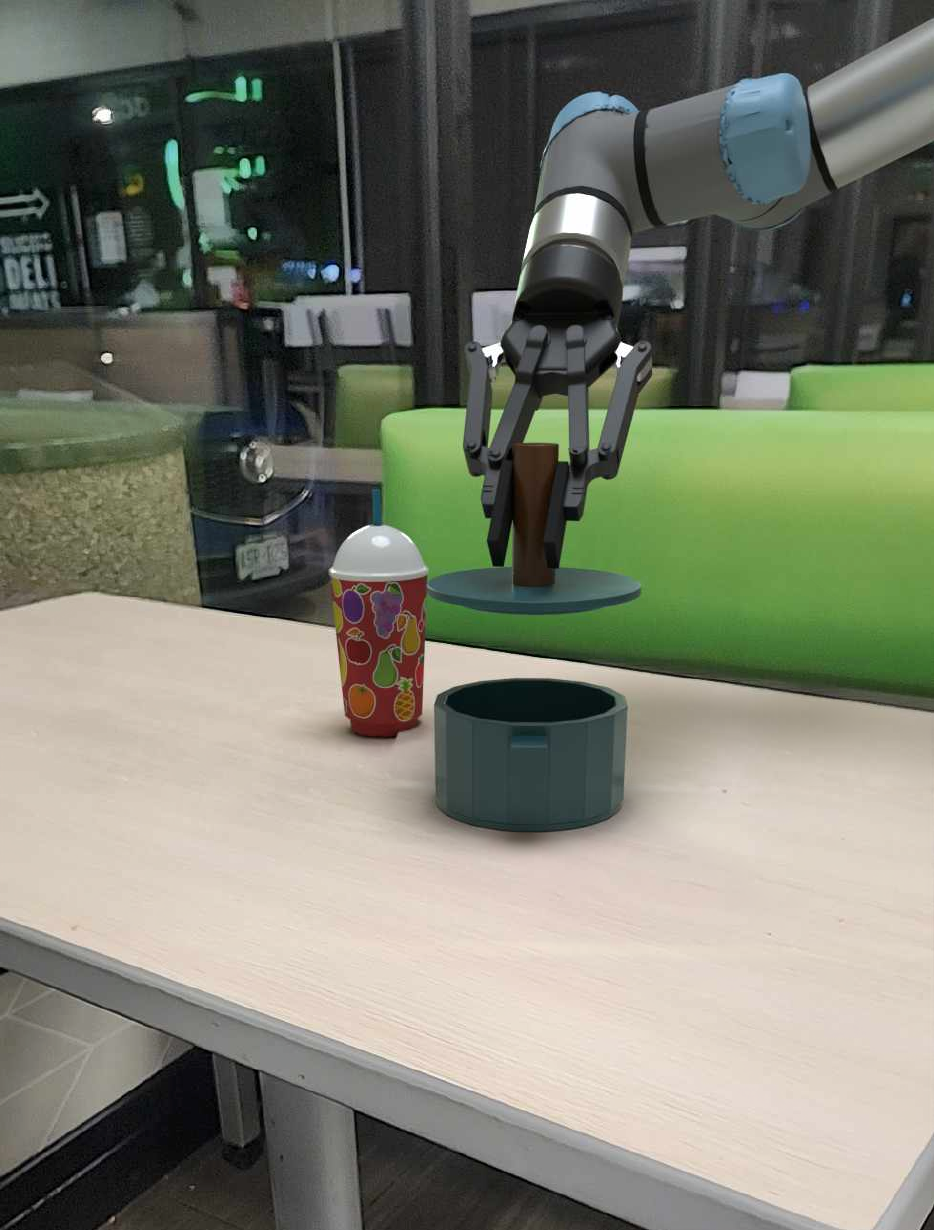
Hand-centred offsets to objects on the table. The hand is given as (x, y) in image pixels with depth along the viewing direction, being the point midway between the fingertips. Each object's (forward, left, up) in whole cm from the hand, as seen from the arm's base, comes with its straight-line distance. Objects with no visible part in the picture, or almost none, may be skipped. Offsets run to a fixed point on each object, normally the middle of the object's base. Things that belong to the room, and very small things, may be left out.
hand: (523, 554), depth 83 cm
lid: (-1, -4, -3) cm, 5 cm away
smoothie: (+12, -22, -18) cm, 31 cm away
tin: (-1, -3, -18) cm, 18 cm away
